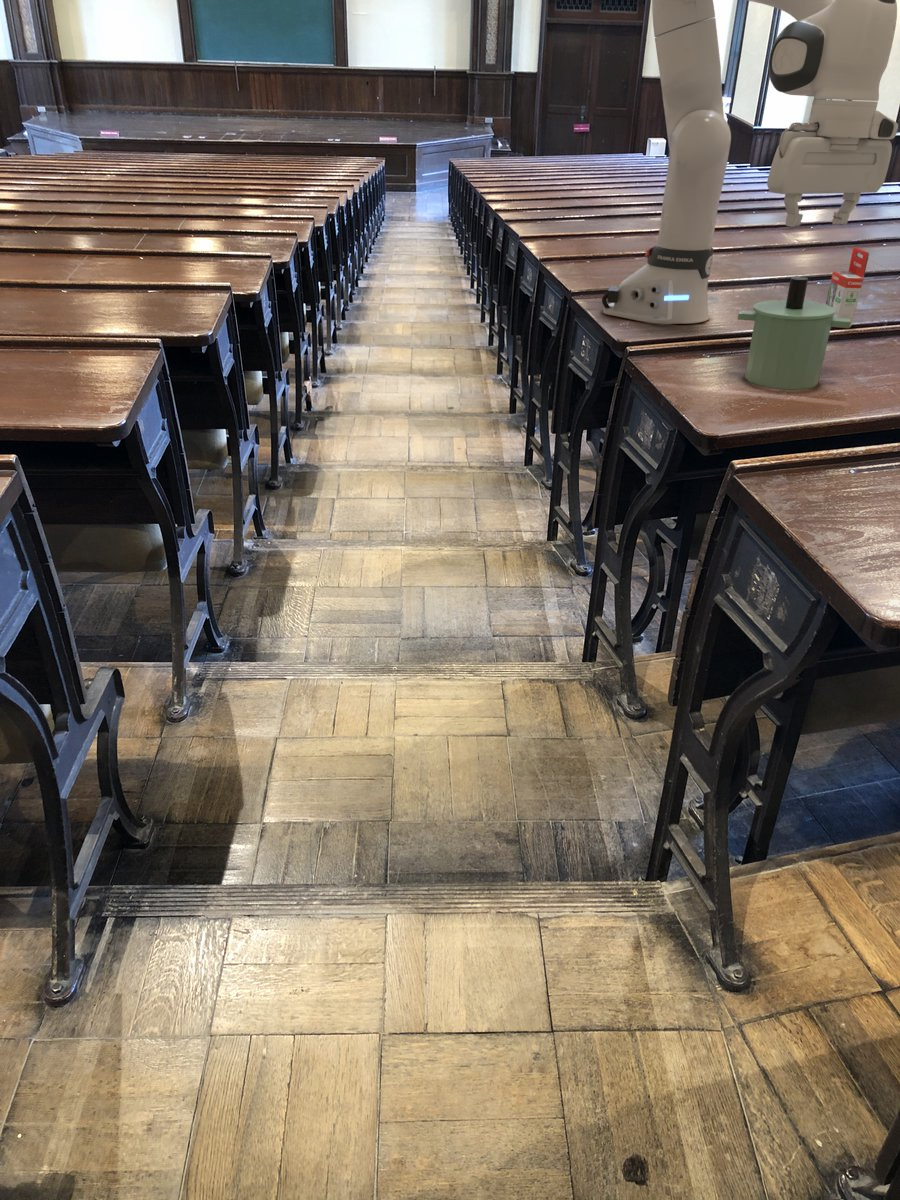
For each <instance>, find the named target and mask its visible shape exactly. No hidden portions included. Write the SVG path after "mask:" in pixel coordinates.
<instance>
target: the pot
mask: <svg viewBox="0 0 900 1200" xmlns="http://www.w3.org/2000/svg"><path fill="white" fill-rule="evenodd" d="M737 320H739V321H752V322H754V323H753V329H752V334H751V340H750V344H749V351H748V356H747V361H746V367H745V373H744V378H745V380H747V381H748V382H750V383H752V384H755V385H758V386H761V387H767V388H771V389H778V390H805V389H811V388H814V387H817V386H818V385H819V383H820V377H821V373H822V368H823V364H824V359H825V356H826V350H827V346H828V342H829V337H830V333H831V329H832V328H840V329H850V328H851V327H850V323H851V321H850V319H846V318H833V316H831V317H828V318H823V319H812V320H797V319H783V318H776V317H770V316H766V315H762V314H759V313H757V312H755V311H754V310H752V311H751V310H739V311H738V314H737Z"/></svg>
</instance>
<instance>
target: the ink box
mask: <svg viewBox="0 0 900 1200" xmlns="http://www.w3.org/2000/svg"><path fill="white" fill-rule="evenodd" d="M858 254H860V255H862V257H860V256H858ZM869 256H870V252H868V251H866V250H864V249H861V248H858V247H856V246H853V248H852V252H851V258H850V261H849V267H848V270H833V271H832V273H831V278H830V283H829V287H828V291H827V296H826V301H825V305H829V306H831V307H833V308H834V309H835V310H836V311H835V314H834V315H833V318H846V319H850V321H851V323H850V328H851V327H852V326H853V322H854V319H855V315H856V310H857V306H858V302H859V298H860V295H861V291H862V286H863V282H864V279H865V275H866V274H865V273H866V270H867V265H868V262H869V258H870V257H869Z"/></svg>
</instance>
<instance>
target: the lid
mask: <svg viewBox="0 0 900 1200" xmlns="http://www.w3.org/2000/svg"><path fill="white" fill-rule="evenodd" d="M808 282H809V278H808V277H806V276H791V277H790V281H789V285H788V290H787V298H786V299H770V300H769V299H768V300H763V301H758V302H756V303H754V304H753V306H752V311H754V312H757V313H759V314H762V315H766V316H770V317H776V318H783V319H797V320H812V319H823V318H828V317H831V316H833V315H834V314H835V311H836V310H835V309H834V308H833V307H831V306H829V305H826V303H822V302H815V301H811V300H810V301H809V300H805V298H806V294H807V293H806V292H807V287H808Z"/></svg>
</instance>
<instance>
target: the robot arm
mask: <svg viewBox="0 0 900 1200" xmlns="http://www.w3.org/2000/svg"><path fill="white" fill-rule="evenodd" d="M747 2H753V3H757V4H761V5H765V6H769V7H772V8H776V9H778V10H780V11H783V12H785V14H786V13H787V14H788V15H789V16H791V17H792V18H793V19H794V20H795V21H792V22H790V23H789V24H788V25H786V26H785V27H784V28H783V29H782V30H781V32H780V33H778V35H777V37H776V39H775V40H774V42H773V45H772V47H771V50H770V53H769V58H768V69H767V70H768V76H769V80H770V82H771V85H772V87H773V88H774V89H775V90H776V91H777V92H779V93H783V94H785V95H789V96H801V97H802V96H804V97H813V99H812V101H811V102H812V103H811V108H810V113H809V117H808V120H807V121H808V122H804V123H803V122H792V123H791V124H790V125H789V126H788V127H786V128H785V129H784V131H782V132H781V135H780V138H779V143H778V145H777V147H776V151H775V154H774V155H773V159H772V162H771V166H770V169H769V174H768V176H767V181H766V182H767V183H766V186H767V189H768V191H769V193H773V194H779V195H784V198H783V203H784V207H785V211H786V219H785V221H784V222H785V226H786V227H789V228H796V227H798V228H799V227H800V226H801V225H802V220H803V216H804V214H803V213H800V210H799V203H801V202H802V198H803V195H816V194H817V195H818V194H819V195H820V194H822V195H823V194H824V195H825V194H827V195H828V194H842V200H843V202H842V203H841V205H840V207H839V209H838V211H834V212H833V215H832V217H833V218H832V220H831V224H832V225H835V226H846V225H847V224H848V222H849V218H850V214H851V213H852V211H853V210H854V209H855V207H856V206H857V204H858V203H859V202H860V198H861V194H870V193H871V194H876V193H877V192H879V190H880V189H881V188H882V186H883V185H884V183H885V181H886V178H887V173H888V171H889V166H890V162H891V157H892V152H893V146H892V142H891V141H890V140H893V139H894V138H895V137H896V136H897V133H898V130H899V124H898V123H897V122H896V121H895V120H893V119H891V118H890V117H888V116H887V115H885V114H884V113H882V112H881V111H879V110H877V107H878V103H879V100H880V84H881V80H882V77H883V75H884V73H885V72H886V69H887V67H888V63H889V60H890V56H891V51H892V49H893V43H894V38H895V34H896V27H897V21H898V20H897V19H898V2H897V0H747ZM651 9H652V26H653V34H654V35H653V36H654V43H655V49H656V57H657V65H658V73H659V81H660V86H661V95H662V101H663V111H664V117H665V125H666V126H665V127H666V134H667V143H668V148H669V157H668V163H667V171H666V179H665V185H664V192H663V199H662V205H661V213H660V221H659V230H658V239H657V244H655V245H654V246H652V247H650V248H649V249H648V250H645V254H644V257H647V260H646V261H647V262H646V264H644V265H643V266H641V267H640V268H639V269H637V270H636V271H634V272H633V273H632V274H630V275H629V276H627V277H626V278H625V279H623V280H622V281H621V283H620V284H619V286H618V285H609V286H608V290H607V292H605V294H603V296H602V298H601V303H602V305H603V314H604V315H608V316H614V317H618V318H623V319H627V320H633V321H638V322H643V323H648V324H660V325H677V324H680V325H682V324H683V325H684V324H685V325H686V324H698V323H703V322H707V321H708V320H710V314H709V303H708V301H709V299H708V298H709V297H708V296H709V295H708V294H709V293H708V291H709V290H708V288H709V277H710V276H711V273H712V267H713V261H714V250H715V249H714V248H713V243H714V235H715V229H716V222H717V215H718V210H719V209H718V208H719V203H720V199H721V195H722V190H723V185H724V180H725V176H726V170H727V165H728V160H729V155H730V149H731V143H732V131H731V129H730V125H729V123H728V122H727V120H726V119H725V114H724V113H725V112H724V103H723V101H724V100H723V87H722V66H721V57H720V47H719V38H718V37H719V36H718V29H717V21H716V20H717V18H716V12H715V11H716V10H715V5H714V0H651Z"/></svg>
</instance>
